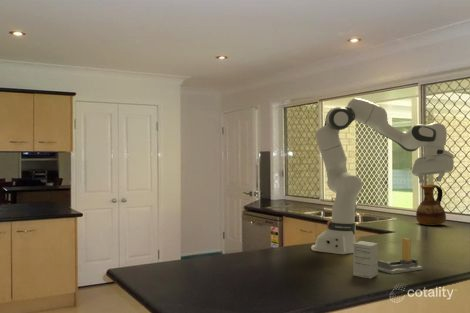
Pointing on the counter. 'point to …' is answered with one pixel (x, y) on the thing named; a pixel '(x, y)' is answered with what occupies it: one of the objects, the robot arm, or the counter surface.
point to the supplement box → (365, 259)
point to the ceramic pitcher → (431, 207)
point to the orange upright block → (406, 251)
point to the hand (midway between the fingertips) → (429, 182)
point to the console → (398, 266)
